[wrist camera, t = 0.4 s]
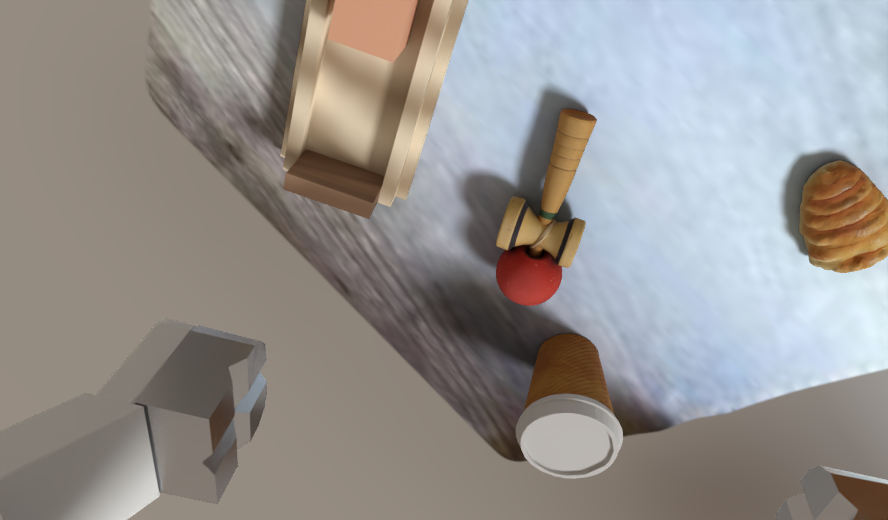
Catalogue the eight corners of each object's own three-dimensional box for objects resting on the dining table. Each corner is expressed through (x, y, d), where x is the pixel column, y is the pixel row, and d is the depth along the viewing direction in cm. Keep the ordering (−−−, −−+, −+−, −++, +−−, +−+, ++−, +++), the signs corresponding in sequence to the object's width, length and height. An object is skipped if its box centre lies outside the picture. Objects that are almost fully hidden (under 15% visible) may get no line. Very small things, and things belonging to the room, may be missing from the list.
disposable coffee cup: (531, 392, 70) (526, 483, 60) (514, 326, 65) (505, 412, 55) (620, 386, 67) (629, 479, 57) (608, 316, 62) (617, 405, 52)
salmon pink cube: (360, -44, 47) (341, -33, 43) (424, -21, 47) (411, -8, 43) (347, 22, 50) (327, 39, 45) (407, 44, 50) (393, 62, 46)
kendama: (523, 93, 53) (475, 278, 61) (536, 113, 47) (482, 313, 55) (610, 111, 54) (552, 289, 62) (633, 131, 48) (566, 325, 56)
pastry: (777, 177, 52) (791, 198, 49) (868, 142, 50) (888, 162, 46) (808, 263, 56) (823, 288, 53) (894, 234, 53) (915, 259, 50)
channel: (324, -84, 47) (295, -75, 42) (476, -28, 47) (466, -13, 42) (284, 151, 58) (258, 180, 53) (407, 195, 58) (393, 227, 53)
